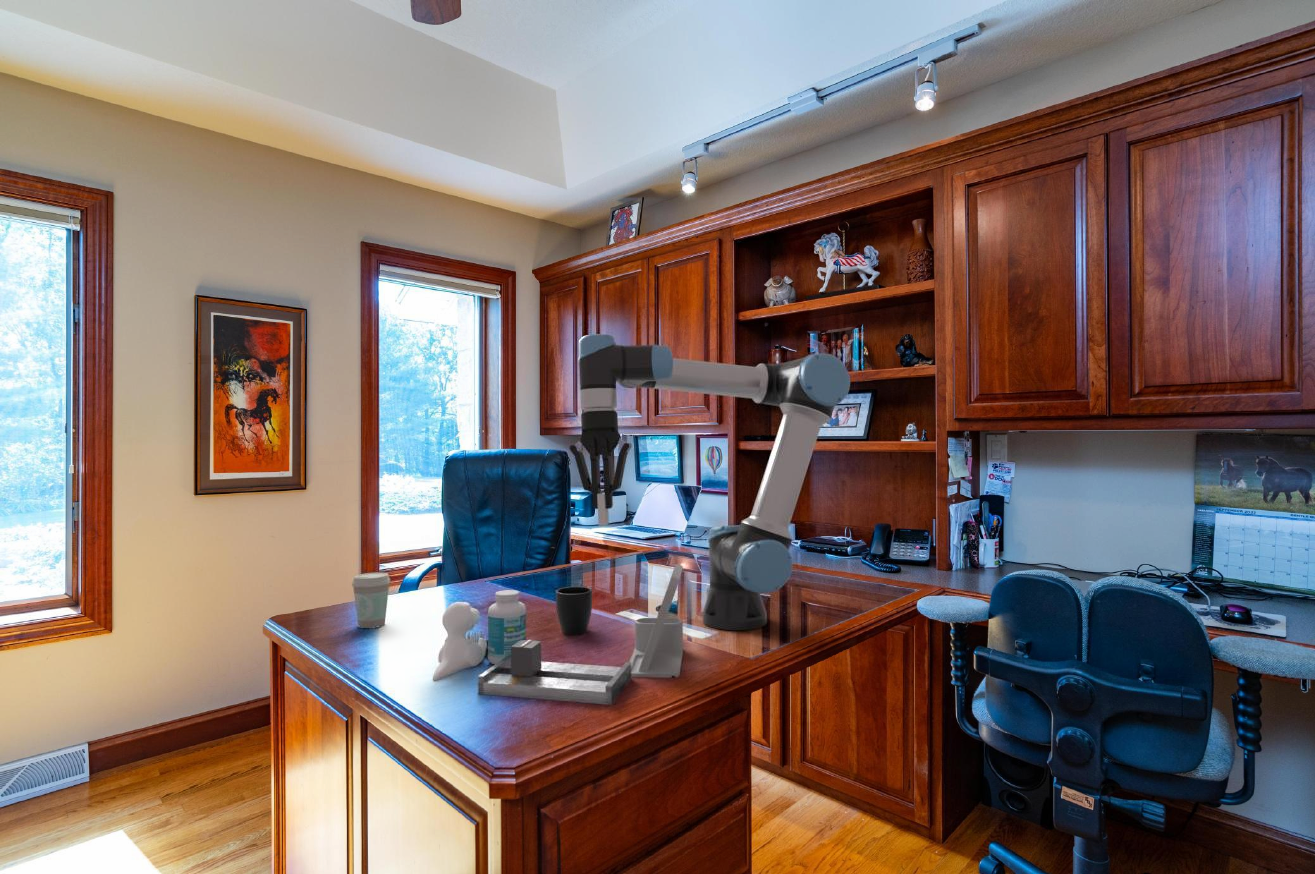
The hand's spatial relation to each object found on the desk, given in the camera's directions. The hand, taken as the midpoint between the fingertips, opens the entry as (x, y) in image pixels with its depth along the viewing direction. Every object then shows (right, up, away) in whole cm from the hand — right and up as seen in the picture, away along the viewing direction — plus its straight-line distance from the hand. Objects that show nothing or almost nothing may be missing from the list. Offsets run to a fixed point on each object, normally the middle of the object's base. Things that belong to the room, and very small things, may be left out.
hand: (603, 524), depth 133 cm
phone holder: (+11, -26, -7) cm, 29 cm away
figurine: (-27, -27, -7) cm, 39 cm away
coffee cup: (-58, -27, +22) cm, 67 cm away
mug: (-8, -27, +16) cm, 32 cm away
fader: (-12, -25, -18) cm, 33 cm away
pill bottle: (-19, -27, -5) cm, 33 cm away
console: (-7, -26, -19) cm, 33 cm away
